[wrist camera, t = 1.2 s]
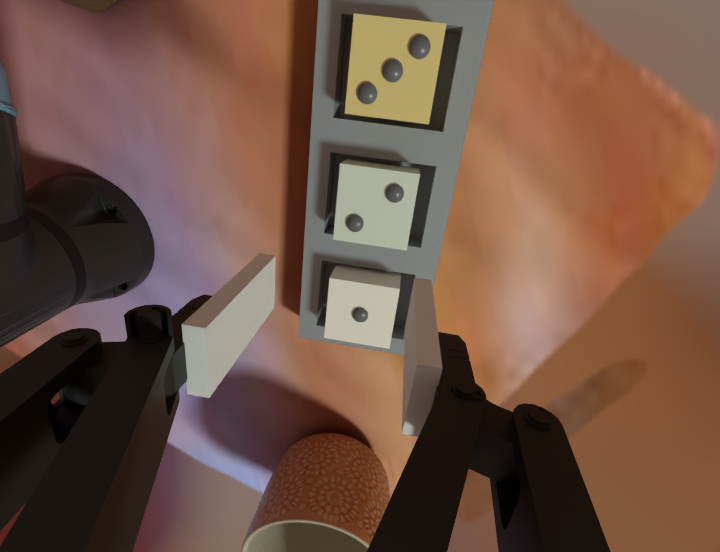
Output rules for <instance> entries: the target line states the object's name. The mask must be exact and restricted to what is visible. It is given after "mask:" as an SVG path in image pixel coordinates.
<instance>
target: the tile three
mask: <svg viewBox="0 0 720 552" xmlns="http://www.w3.org/2000/svg"><path fill="white" fill-rule="evenodd" d="M446 25H447V24H446V23H437V22H428V21H419V20H410V19H400V18H391V17H382V16H373V15H364V14H355V13H354V17H353V28H352V39H351V50H350V61H349V71H348V82H347V93H346V104H345V114H351V115H359V116H367V117H375V118H383V119H390V120H398V121H406V122H414V123H422V124H429V121H430V115H431V110H432V104H433V98H434V93H435V87H436V81H437V76H438V70H439V64H440V59H441V53H442V47H443V42H444V36H445V30H446Z"/></svg>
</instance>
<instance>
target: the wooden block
mask: <svg viewBox="0 0 720 552" xmlns="http://www.w3.org/2000/svg"><path fill="white" fill-rule="evenodd" d="M59 1H62V2H65V3H68V4H71V5H74V6H77V7H80V8H83V9H86V10H89V11H92V12H100V11H103V10H105V9H107V8H108V7H109V6H111V5H112V4H113V3H115V2H116V1H117V0H59Z"/></svg>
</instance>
